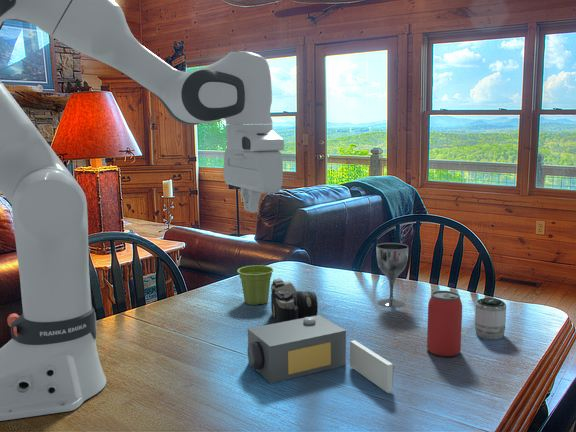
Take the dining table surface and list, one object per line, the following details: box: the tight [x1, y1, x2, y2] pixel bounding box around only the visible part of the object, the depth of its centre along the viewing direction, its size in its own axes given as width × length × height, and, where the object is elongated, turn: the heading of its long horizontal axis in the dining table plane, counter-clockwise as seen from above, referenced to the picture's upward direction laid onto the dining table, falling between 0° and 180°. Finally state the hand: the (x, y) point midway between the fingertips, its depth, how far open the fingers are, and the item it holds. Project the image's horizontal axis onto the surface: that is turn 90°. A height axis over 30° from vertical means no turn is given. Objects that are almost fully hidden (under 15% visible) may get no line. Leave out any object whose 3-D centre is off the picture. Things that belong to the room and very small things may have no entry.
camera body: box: [247, 314, 347, 384], centre depth 108 cm, size 17×10×8 cm, turn 117°
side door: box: [349, 339, 394, 394], centre depth 102 cm, size 12×2×5 cm, turn 26°
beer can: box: [426, 290, 463, 358], centre depth 114 cm, size 7×7×12 cm
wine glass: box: [375, 242, 409, 308], centre depth 144 cm, size 8×8×15 cm
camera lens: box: [474, 297, 507, 341], centre depth 123 cm, size 6×6×8 cm
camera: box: [270, 277, 319, 323], centre depth 132 cm, size 16×10×10 cm, turn 10°
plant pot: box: [236, 264, 274, 306], centre depth 147 cm, size 9×9×9 cm
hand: (251, 211), depth 110 cm, fingers closed
